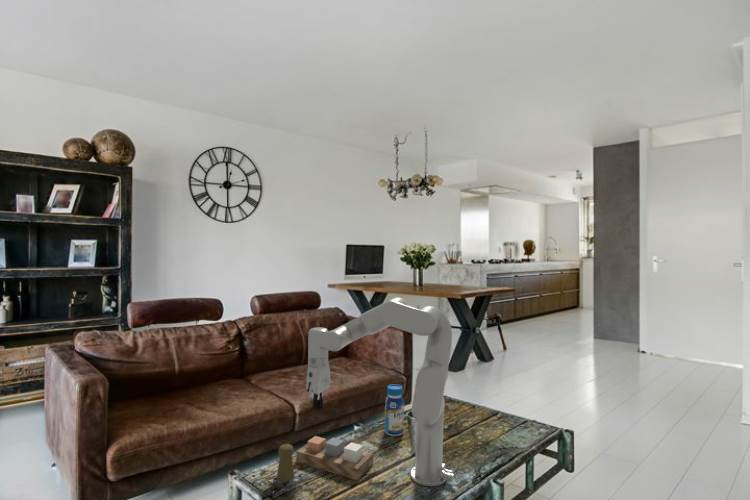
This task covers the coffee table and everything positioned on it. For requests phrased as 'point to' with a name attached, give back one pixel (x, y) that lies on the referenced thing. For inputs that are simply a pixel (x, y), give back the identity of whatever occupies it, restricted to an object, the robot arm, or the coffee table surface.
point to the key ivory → (353, 452)
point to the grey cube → (334, 447)
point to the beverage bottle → (394, 410)
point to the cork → (285, 463)
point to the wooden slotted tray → (334, 462)
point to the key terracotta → (316, 444)
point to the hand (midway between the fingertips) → (317, 408)
